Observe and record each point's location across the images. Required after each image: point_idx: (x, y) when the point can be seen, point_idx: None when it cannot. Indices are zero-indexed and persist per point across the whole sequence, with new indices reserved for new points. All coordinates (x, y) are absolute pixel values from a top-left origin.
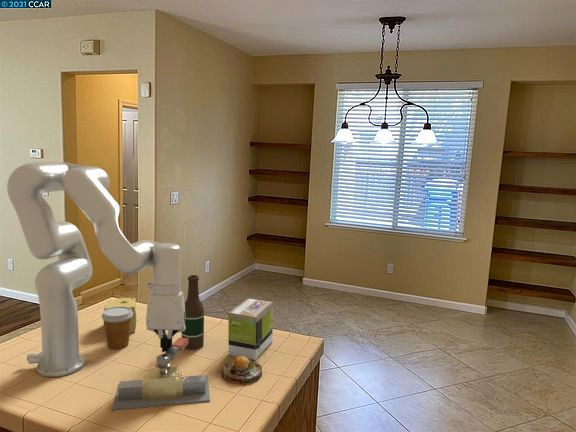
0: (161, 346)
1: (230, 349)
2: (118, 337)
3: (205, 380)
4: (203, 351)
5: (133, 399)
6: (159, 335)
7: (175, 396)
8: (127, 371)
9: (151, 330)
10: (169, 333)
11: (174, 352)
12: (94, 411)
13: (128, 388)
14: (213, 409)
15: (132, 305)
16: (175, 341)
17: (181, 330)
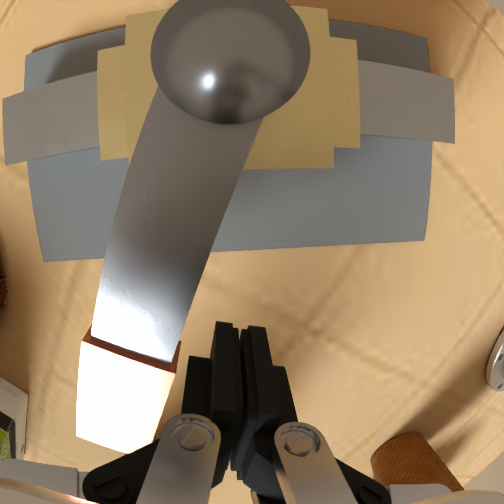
0: (275, 370)
1: (13, 403)
2: (416, 463)
3: (3, 107)
4: None
5: None
6: (319, 451)
7: None
8: (393, 323)
9: (407, 488)
10: (186, 472)
11: (116, 215)
12: (470, 58)
13: (411, 69)
14: (25, 11)
15: None
16: (157, 418)
17: (33, 478)
